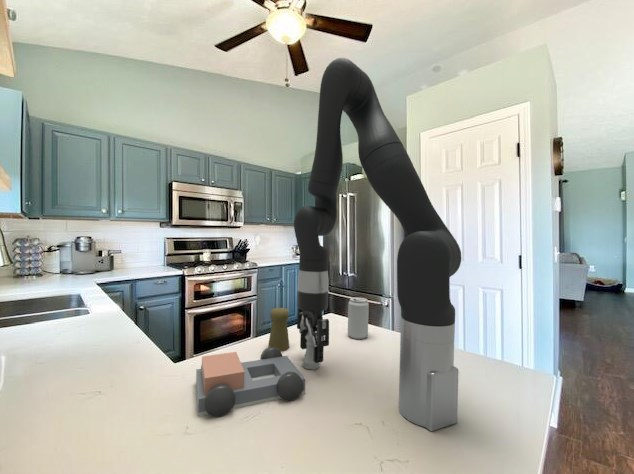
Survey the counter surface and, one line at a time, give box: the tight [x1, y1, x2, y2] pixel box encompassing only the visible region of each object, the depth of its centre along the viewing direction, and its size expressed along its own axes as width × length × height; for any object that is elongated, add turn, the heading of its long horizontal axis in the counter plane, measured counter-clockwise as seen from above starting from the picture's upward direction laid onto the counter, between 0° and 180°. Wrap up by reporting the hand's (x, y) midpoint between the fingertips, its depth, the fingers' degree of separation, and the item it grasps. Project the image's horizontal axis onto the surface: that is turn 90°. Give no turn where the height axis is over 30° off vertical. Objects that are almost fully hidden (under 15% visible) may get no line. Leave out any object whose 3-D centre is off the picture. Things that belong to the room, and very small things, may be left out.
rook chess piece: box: [301, 332, 321, 371], centre depth 72 cm, size 4×4×8 cm
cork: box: [267, 307, 290, 353], centre depth 83 cm, size 6×6×11 cm
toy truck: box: [195, 347, 306, 418], centre depth 61 cm, size 15×20×6 cm
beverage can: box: [347, 296, 370, 340], centre depth 94 cm, size 6×6×12 cm
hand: (311, 354), depth 72 cm, fingers open, 8 cm apart
